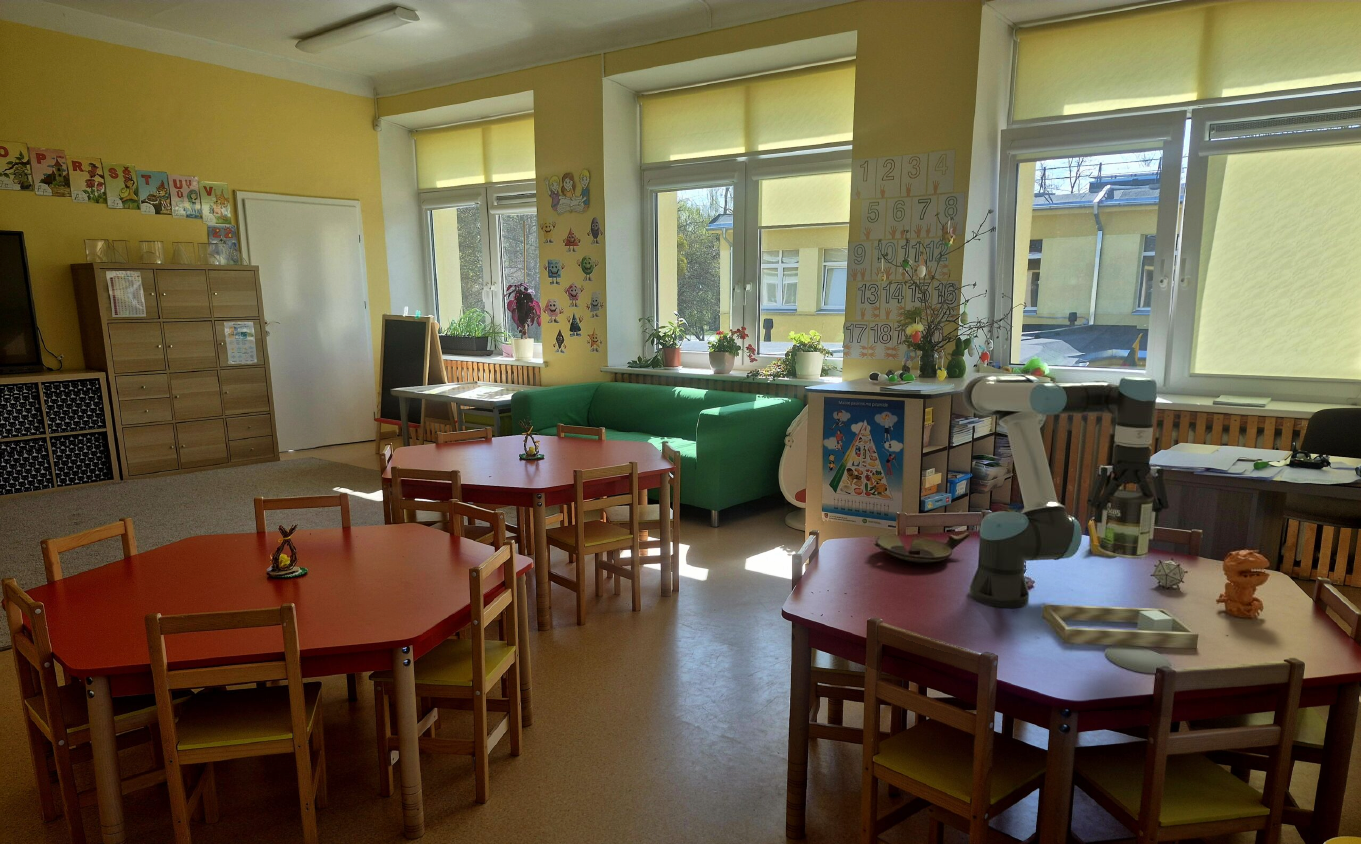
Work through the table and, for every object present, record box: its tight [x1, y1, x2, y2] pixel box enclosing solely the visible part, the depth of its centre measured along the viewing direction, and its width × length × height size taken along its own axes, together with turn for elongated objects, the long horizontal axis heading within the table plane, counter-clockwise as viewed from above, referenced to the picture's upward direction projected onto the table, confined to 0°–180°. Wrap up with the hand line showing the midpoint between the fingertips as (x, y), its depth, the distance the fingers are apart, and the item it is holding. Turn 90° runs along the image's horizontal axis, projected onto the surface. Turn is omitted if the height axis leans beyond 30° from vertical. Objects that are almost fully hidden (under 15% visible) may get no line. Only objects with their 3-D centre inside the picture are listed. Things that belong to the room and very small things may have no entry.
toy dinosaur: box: [1215, 549, 1271, 619], centre depth 202 cm, size 11×11×18 cm
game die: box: [1149, 557, 1189, 591], centre depth 221 cm, size 9×8×10 cm
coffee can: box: [1099, 488, 1155, 560], centre depth 183 cm, size 10×10×14 cm
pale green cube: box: [1136, 610, 1173, 632], centre depth 191 cm, size 5×5×5 cm
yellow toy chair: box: [1087, 519, 1117, 558], centre depth 252 cm, size 10×10×9 cm
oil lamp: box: [874, 532, 971, 564], centre depth 243 cm, size 22×30×8 cm
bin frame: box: [1041, 604, 1200, 649], centre depth 191 cm, size 30×15×4 cm, turn 85°
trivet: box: [1104, 645, 1172, 675], centre depth 177 cm, size 13×13×1 cm
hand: (1124, 536), depth 184 cm, fingers closed on coffee can, 10 cm apart
